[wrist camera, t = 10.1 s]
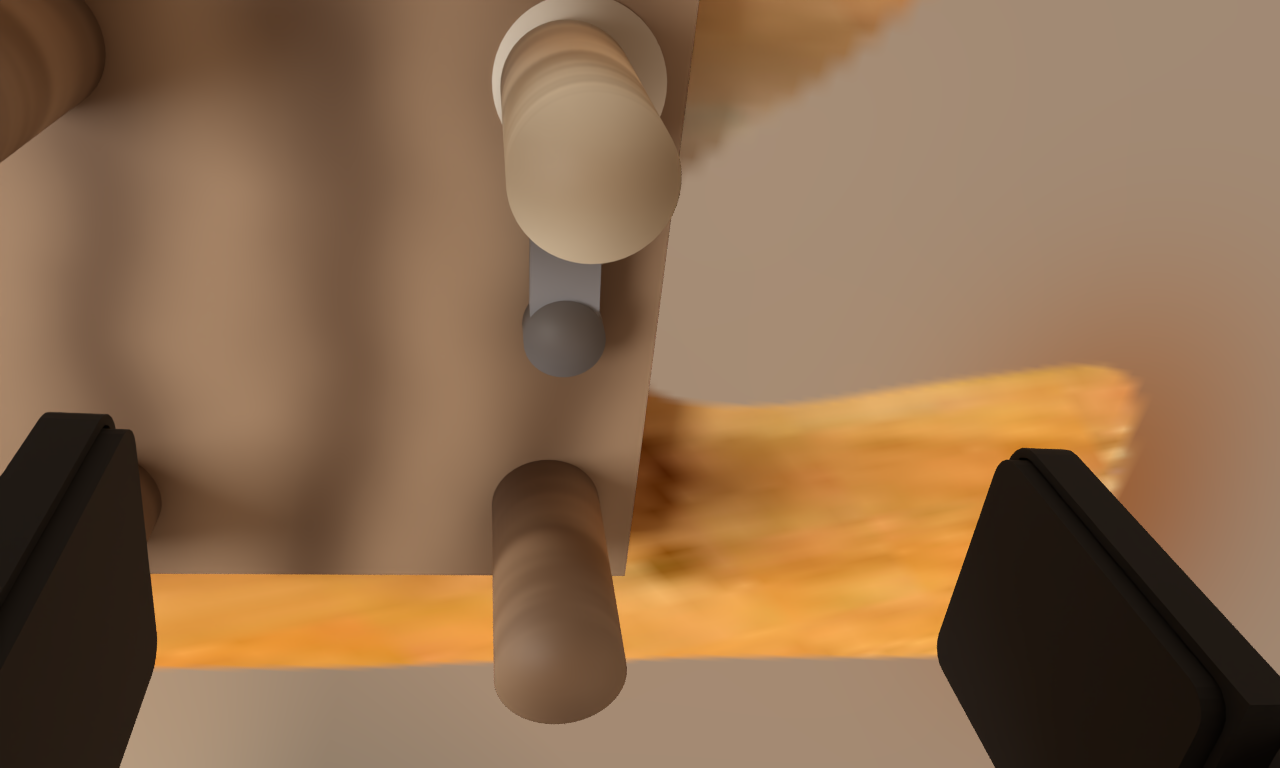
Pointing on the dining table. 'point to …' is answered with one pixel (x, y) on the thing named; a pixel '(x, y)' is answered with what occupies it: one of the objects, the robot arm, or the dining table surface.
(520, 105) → the hinged leg
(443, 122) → the stool
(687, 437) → the dining table surface
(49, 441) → the robot arm
